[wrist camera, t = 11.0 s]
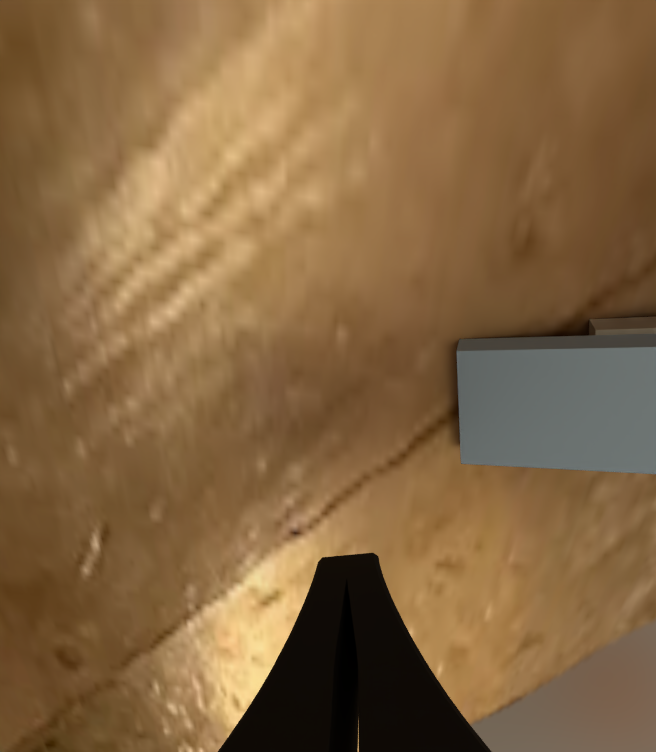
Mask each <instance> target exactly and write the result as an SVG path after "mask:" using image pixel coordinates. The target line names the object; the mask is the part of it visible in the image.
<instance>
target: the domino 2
mask: <svg viewBox="0 0 656 752" xmlns="http://www.w3.org/2000/svg"><path fill="white" fill-rule="evenodd" d="M625 334H656V317H633V318H609V319H590V321H589V335H625Z"/></svg>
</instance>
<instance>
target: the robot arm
mask: <svg viewBox="0 0 656 752" xmlns="http://www.w3.org/2000/svg"><path fill="white" fill-rule="evenodd" d="M358 718H359V752H491V751H490V749H489V748H488V747H487V746H486V745H485V743H484V742H483V741H482V739H481V738H480V737H479V736H478V735H477V733H476V732H475V731H474V730H473V728H472V727H471V726H470V725H469V723H468V722H467V721H466V719H465V718H464V717H463V715H462V714H461V713H460V711H459V710H458V709H457V707H456V706H455V704H454V703H453V702H452V700H451V699H450V698H449V696H448V695H447V693H446V692H445V690H444V689H443V687H442V686H441V684H440V683H439V681H438V680H437V679H436V677H435V675H434V674H433V672H432V671H431V669H430V668H429V666H428V664H427V663H426V661H425V660H424V658H423V656H422V655H421V653H420V651H419V649H418V648H417V646H416V644H415V643H414V641H413V639H412V637H411V636H410V634H409V632H408V630H407V628H406V626H405V624H404V622H403V620H402V618H401V616H400V614H399V612H398V610H397V608H396V606H395V604H394V602H393V600H392V598H391V595H390V593H389V590H388V588H387V585H386V583H385V580H384V577H383V574H382V571H381V568H380V564H379V558H378V556H377V555H376V554H374V553H366V554H355V555H344V556H334V557H323V558H321V560H320V561H319V562H318V565H317V568H316V572H315V575H314V578H313V581H312V584H311V586H310V589H309V592H308V594H307V597H306V599H305V602H304V604H303V607H302V609H301V611H300V613H299V616H298V618H297V620H296V622H295V624H294V627H293V629H292V631H291V633H290V635H289V637H288V639H287V641H286V643H285V645H284V647H283V649H282V651H281V653H280V655H279V656H278V658H277V660H276V662H275V664H274V666H273V668H272V670H271V671H270V673H269V675H268V677H267V678H266V680H265V682H264V683H263V685H262V687H261V688H260V690H259V692H258V693H257V695H256V697H255V698H254V700H253V701H252V703H251V705H250V706H249V708H248V709H247V711H246V712H245V714H244V715H243V717H242V718H241V719H240V721H239V722H238V724H237V725H236V727H235V728H234V730H233V731H232V733H231V734H230V735H229V737H228V738H227V740H226V741H225V742H224V744H223V745H222V747H221V748H220V749H219V751H218V752H357V748H358Z"/></svg>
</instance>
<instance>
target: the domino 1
mask: <svg viewBox="0 0 656 752" xmlns="http://www.w3.org/2000/svg"><path fill="white" fill-rule="evenodd" d="M457 375H458V401H459V426H460V452H461V464H476V465H495V466H513V467H532V468H551V469H570V470H588V471H607V472H626V473H645V474H656V334H625V335H589V336H553V337H518V338H482V339H459V343H458V347H457Z"/></svg>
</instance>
